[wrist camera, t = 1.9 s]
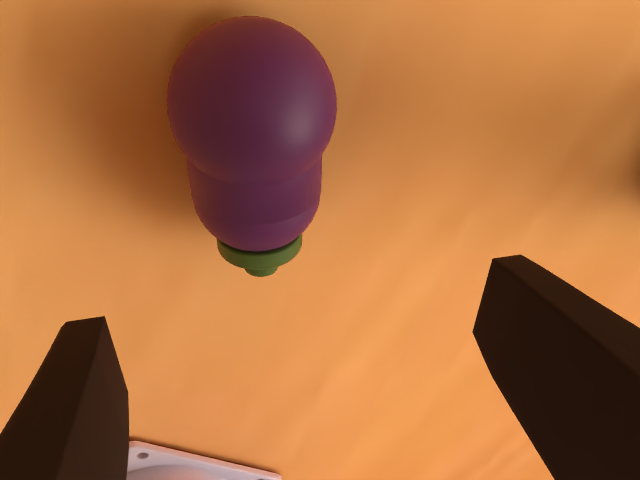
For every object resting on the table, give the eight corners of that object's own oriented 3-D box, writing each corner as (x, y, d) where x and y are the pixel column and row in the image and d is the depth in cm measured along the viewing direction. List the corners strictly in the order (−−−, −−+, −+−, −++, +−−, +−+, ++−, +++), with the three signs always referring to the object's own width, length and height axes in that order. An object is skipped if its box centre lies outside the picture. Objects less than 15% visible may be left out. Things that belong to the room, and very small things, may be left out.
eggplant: (312, 225, 21) (345, 307, 17) (190, 240, 20) (198, 331, 16) (316, -7, 16) (363, 43, 12) (153, -1, 15) (153, 55, 11)
